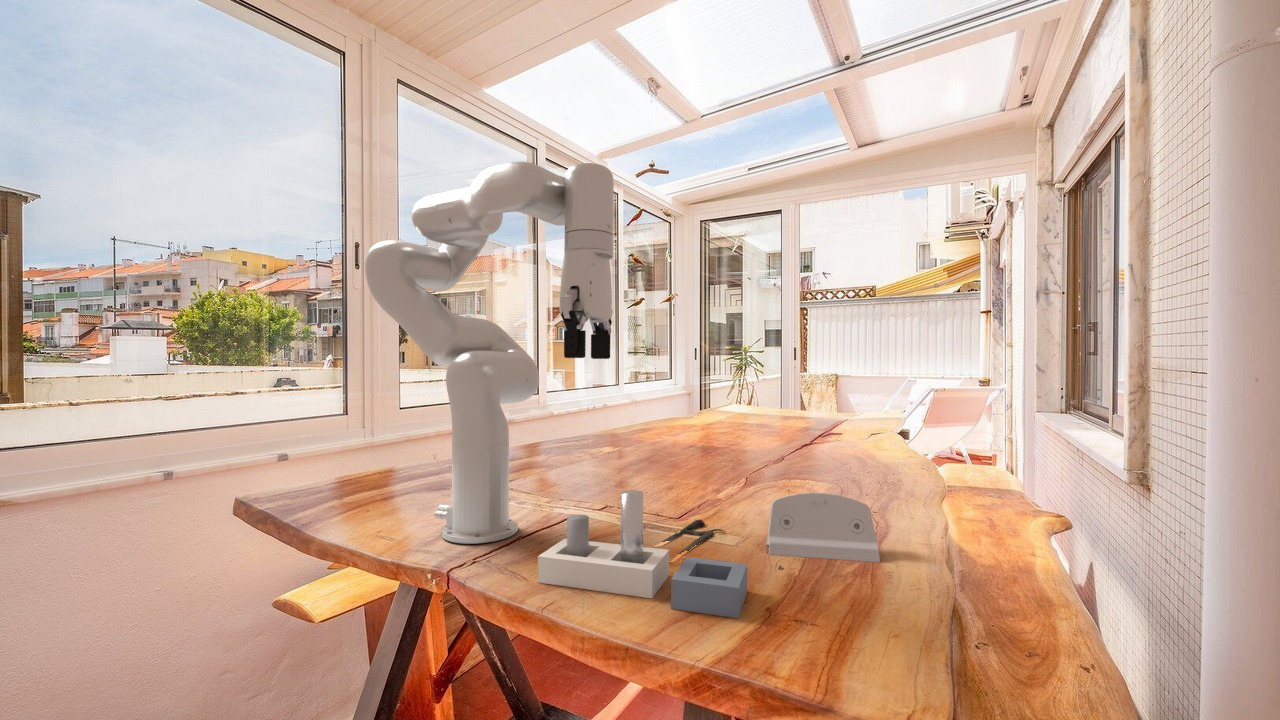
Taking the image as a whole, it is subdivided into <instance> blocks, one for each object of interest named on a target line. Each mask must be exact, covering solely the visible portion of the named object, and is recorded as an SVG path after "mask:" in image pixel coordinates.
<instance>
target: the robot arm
mask: <svg viewBox="0 0 1280 720" xmlns="http://www.w3.org/2000/svg"><path fill="white" fill-rule="evenodd" d="M614 189H615V188H614V176H613V172H612V171H611V170H610V169H609V167H607V166H605V165H602V164H599V163H592V162H583V163H582V162H581V163H575V164H573V165H572V166H570V167H569V168H568V169H567V171H566V172H565V176H561V175H559V174H557V173H554V172H552V171H550V170H548V169H546V168H544V167H542V166H540V165H538V164H535V163H533V162H529V161H512V162H507V163H503V164H498V165H493V166H491V167H487V168H486V169H483V171H481V172H480V173H479V174H478V175H477V177H475V179H474V181H473V182H472V184H471V186H467V187H463V188H459V189H454V190H453V189H452V190H449V191H444V192H439V193H436V194H430V195H427V196H425V197H422V198H421V199H420V200H418V201H417V202H416V203H415V204H414V206H413V208H412V211H411V221H412V223H413V224H412V225H413V226H414V228H415V230H416V231H417V232H418V234H420V235H421V236H423V237H424V238H425V239H427V240H430V241H433V242H436V243H439V244H442V245H441V246H440V247H439V248H435V247H429V246H426V245H421V244H418V243H414V242H408V241H404V240H403V241H402V240H383V241H380V242H377V243H376V244H374V245H373V246H372V247H371V248H370V249H369V251H368V252H367V254H366V258H365V263H364V265H365V266H364V271H365V279H366V283H367V287H368V288H369V291H370V293H371V295H372V297H373V298H374V300H375V301H376V303H377V304H378V306H379V307H380V308H381V309H382V310H383V311H385V313H386V314H387V315H389V317H391V319H393V320H394V321H395V322H396V323H397V324H398V325H399V326H400V327H401V328H402V329H403V330H404V332H405V333H406V334H407V336H409V338H410V339H411V340H412V341H413V342H414V344H416V346H417V347H418V348H419V349H420V350H421V351H422V352H423V353H424V354H425V356H426V357H427V358H428V359H429V360H430V361H431V362H433V363H434V364H435V365H438V366H439V367H445V368H446V367H447V369H446V373H445V374H446V375H445V386H446V391H447V397H448V400H449V407H450V415H451V451H452V452H451V505H447V504H440V505H439V506H438V508H437V510H436V511H435V513H434V518H435V519H438V520H439V519H440V520H446V522H445V523H446V524H445V526H444V527H443V528H442V530H441V537H442V538H443V539H445V541H447V542H451V543H454V544H465V545H466V544H467V545H470V544H473V545H474V544H485V543H493V542H497V541H498V542H499V541H501V540H502V541H503V540H505V539H507V538H510V537H512V536H514V535H515V534H516V533H517V532H518V530H519V523H518V522H517V521H516V520H514V519H512V518H510V517H509V516H510V513H509V512H510V511H509V509H510V508H509V507H510V501H509V500H510V495H509V493H510V489H509V488H510V429H509V424H508V420H507V418H506V416H505V413H504V410H503V409H502V406H501V405H504V404H516V403H520V402H524V401H526V400H528V399H530V398H531V397H533V396H534V395H535V393H537V390H538V388H539V385H540V373H539V370H538V366H537V364H536V362H535V361H534V359H533V358H532V356H530V354H528V353H527V351H526V350H524V348H523V347H521V346H520V345H519V343H517V341H516V340H514V338H512V336H510V335H509V334H508V333H507V332H506V331H505V329H503V328H502V327H501V326H499V325H498V324H497V323H495V322H493V321H490V320H488V319H484V318H479V317H471V316H469V317H468V316H463V315H458V314H455V313H454V312H453V311H451V310H450V309H449V308H448V307H447V306H446V305H444V303H443V302H442V301H441V300H440V299H439V298H438V297H437V296H435V295H434V294H433V293H432V292H429V291H433V292H445V291H449V290H450V289H452V288H454V286H456V285H457V284H458V282H459V281H460V280H461V279H462V277H463V276H464V275H465V273H466V271H468V269H469V268H470V267H471V265H472V263H474V261H475V259H476V258H477V257H478V256H479V254H480V253H481V251H482V249H483V248H484V246H485V245H486V243H487V241H488V239H489V236H490V235H493V234H495V233H496V232H498V230H499V229H500V227H501V225H502V224H503V223H502V222H503V217H504V216H503V215H504V213H516V212H518V213H522V214H524V215H527V216H530V217H533V218H535V219H538V220H540V221H543V222H546V223H548V224H551V225H554V226H564V245H563V246H564V255H563V256H564V257H563V261H562V268H561V277H560V290H559V291H560V293H559V314H560V316H561V320H562V321H563V323H562V329H563V356H564V359H565V358H566V359H584V358H586V350H587V349H586V345H587V344H586V342H587V341H586V336H587V333H586V331H587V330H584V327H585V324H586V322H588V321H589V322H590V323H589V324H590V326H591V329H592V334H590V358H591V359H592V360H602V359H603V360H610V358H611V334H612V327H611V326H612V322H613V321H612V315H613V312H614V311H613V306H612V305H613V300H612V299H613V296H612V295H613V294H612V292H613V291H612V274H611V263H610V262H611V260H612V259H614Z"/></svg>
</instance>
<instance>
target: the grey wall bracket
mask: <svg viewBox="0 0 1280 720" xmlns="http://www.w3.org/2000/svg"><path fill="white" fill-rule="evenodd" d="M873 521H874V520H873V516H872V512H871V508H870V507H869V505H867V504H866V503H863V502H861V501H858V500H856V499H853V498H851V497H847V496H843V495H839V494H833V493H828V492H827V493H825V492H803V493H801V492H800V493H794V494H790V495H785V496H782V497H779V498H776V499H774V500H773V501H772V503H771V504H770V511H769V521H768V529H767V536H766V537H767V538H766V544H765V545H766V546H768V554H771V556H781V555H783V556H784V557H798V558H799V557H800V558H811V559H812V558H813V559H826V560H827V559H828V560H840V561H856V562H868V563H869V562H870V563H881V558H880V549H879V545H878V541H877V536H876V535H877V534H876V531H875V527H874V522H873ZM772 554H774V555H772Z"/></svg>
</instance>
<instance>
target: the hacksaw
mask: <svg viewBox="0 0 1280 720" xmlns="http://www.w3.org/2000/svg"><path fill="white" fill-rule="evenodd" d="M705 525H706V523H705V521H704V520H702V519H695V520H694V521H692V522H691V523H690V524H688V525H686V526H685V527H683V528H682V529H680V531H679V532H675V533H674V534H672V535H670V536H669V537H667V538H665V539H664V540H662V541H661V542H665V541H671V542H673V541H675V540H676V538H677V537H678V538H680V537H682V536H683V535H692V534H694V535H693V536H699V537H698V538H696V539H695V540H694V541H692V542H691V543H690V544H688V545H687V546H685V547H684V548H683V549H682V550H681V551H679V552H680V553H679V552H678V553H677V554H681V553H682V552H684V551H685V550H686V551H689V550H690V549H691V548H692V547H694V546H695V545H698V544H699V543H701V542H703V541H704V540H706V539H707V540H708V539H710V538H712V537H713V536H714V532H717V531H720V532H723V533H720V534H719V536H721V535H725V534H726V531H725V530H724V529H721V528H720V529H719V528H714V529H711V530H697V529H699V528H698V527H700V528H704V527H705ZM703 526H704V527H703ZM693 529H694V530H693ZM683 533H684V534H683ZM681 535H682V536H681ZM679 536H680V537H679ZM709 537H710V538H709ZM678 538H677V539H678ZM674 539H675V540H674ZM672 540H673V541H672ZM704 542H705V541H704ZM704 542H703V543H704ZM701 544H702V543H701ZM698 546H699V545H698ZM689 552H690V551H689ZM670 574H672V575H675V573H672V572H670Z"/></svg>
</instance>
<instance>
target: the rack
mask: <svg viewBox="0 0 1280 720" xmlns="http://www.w3.org/2000/svg"><path fill="white" fill-rule="evenodd" d="M589 519H590V517H589V515H587V514H572V515H568V516H567V517H566V538H563V539H561V540H560V541H559V542H557V543H556V544H554V545H552V546H551V547H549V548H548V549H547V550H545V551H544V552H542V553H541V554H539V555H538V556H537V583H539V584H545V585H547V584H548V585H554V586H561V587H566V588H567V587H568V588H575V589H582V590H589V591H597V592H604V593H611V594H616V595H617V594H618V595H624V596H625V595H626V596H630V597H631V596H632V597H638V598H645V599H653V598H654V597H655V595H656V594H657V593H658V591H659V590H660V588H661V587H662V586H663V584H664V583H665V581H666V580H667V579H668V577H669V576H670V562H669V560H670V550H669V549H664V548H657V547H654V548H652V547H647V546H643V564H638V563H630V562H622V561H621V543H620V544H619V543H609V542H599V541H593V540H592V541H591V540H590V538H589V537H590V531H589V530H590V526H589V525H590V520H589Z"/></svg>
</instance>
